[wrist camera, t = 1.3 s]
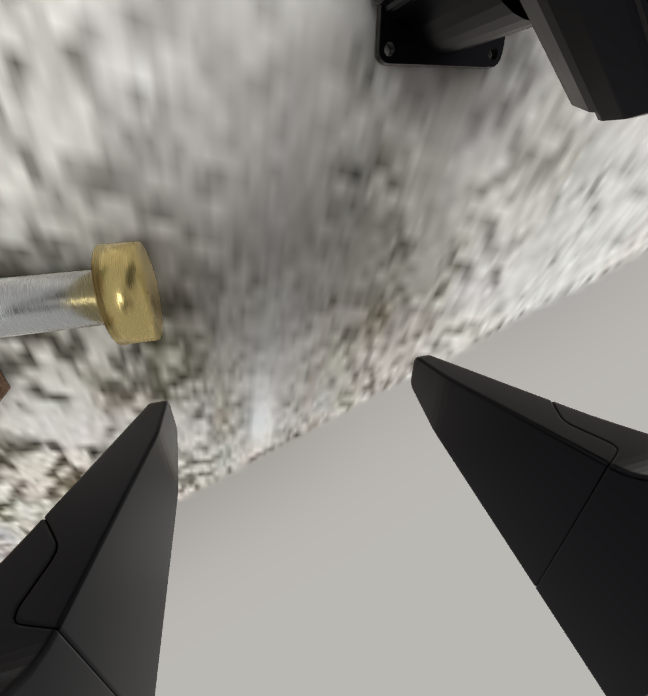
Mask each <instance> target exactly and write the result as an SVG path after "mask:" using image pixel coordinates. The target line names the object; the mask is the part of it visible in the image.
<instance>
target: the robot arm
mask: <svg viewBox="0 0 648 696" xmlns="http://www.w3.org/2000/svg"><path fill="white" fill-rule="evenodd" d="M375 2H376V4H377V5H378V9H377V29H376V50H375V51H376V57H377V60H378V61H379V62H380V63H381V64H383V65H400V66H428V67H456V68H484V69H486V68H490V67H494V66H495V65H496V64H498V62H499V61H500V58H501V55H502V50H503V45H504V40H505V36H506V35H509V34H512V33H515V32H518V31H521V30H524V29H527V28H530V27H533V28H534V30H535V32H536V34H537V36H538V38H539V40H540V42H541V44H542V46H543V48H544V50H545V52H546V54H547V56H548V58H549V60H550V62H551V64H552V66H553V68H554V70H555V72H556V74H557V76H558V78H559V80H560V82H561V84H562V86H563V88H564V90H565V92H566V94H567V96H568V98H569V100H570V102H571V104H572V105H574V106H576V107H578V108H581V109H583V110H586V111H588V112H595V114H596V116H597V118H598V120H601V121H606V120H620V119H628V118H634V117H638V116H642V115H646V114H648V0H375ZM386 44H388V45H389V46H390V49H391V52H390V55H389V57H388V56H386V54H385V53H384V47H385V45H386ZM490 50H491V51H492V57H491V60H489V51H490ZM411 385H412V388H413V391H414V392H415V394H416V396H417V398H418V400H419V402H420V404H421V406H422V408H423V410H424V412H425V414H426V416H427V418H428V420H429V422H430V424H431V426H432V428H433V430H434V431H435V433H436V435H437V436H438V438H439V439H440V441H441V442H442V444H443V446H444V447H445V449H446V450H447V451H448V453H449V455H450V456H451V458H452V459H453V461H454V462H455V464H456V466H457V467H458V468H459V470H460V472H461V473H462V475H463V476H464V478H465V479H466V481H467V482H468V484H469V486H470V487H471V489H472V490H473V492H474V493H475V495H476V496H477V498H478V499H479V501H480V502H481V504H482V506H483V507H484V509H485V510H486V512H487V513H488V515H489V516H490V518H491V519H492V521H493V522H494V524H495V525H496V527H497V528H498V530H499V532H500V533H501V535H502V536H503V538H504V539H505V540H506V542H507V544H508V545H509V547H510V549H511V550H512V552H513V553H514V554H515V556H516V558H517V559H518V561H519V562H520V564H521V565H522V567H523V568H524V570H525V572H526V573H527V575H528V576H529V578H530V579H531V581H532V582H533V584H534V585H535V586H536V589H537V590H538V592H539V594H540V595H541V597H542V598H543V599H544V601H545V603H546V604H547V606H548V607H549V609H550V610H551V612H552V613H553V615H554V617H555V618H556V620H557V621H558V623H559V624H560V626H561V627H562V629H563V630H564V632H565V633H566V635H567V637H568V638H569V639H570V641H571V643H572V644H573V646H574V647H575V649H576V650H577V652H578V653H579V655H580V656H581V658H582V659H583V661H584V663H585V664H586V666H587V667H588V669H589V670H590V672H591V673H592V675H593V676H594V678H595V679H596V681H597V682H598V684H599V686H600V687H601V689H602V690H603V692H604V693H605V695H606V696H648V434H647V433H644V432H640V431H637V430H634V429H631V428H628V427H625V426H622V425H618V424H615V423H612V422H609V421H606V420H603V419H600V418H597V417H594V416H591V415H589V414H586V413H583V412H580V411H577V410H575V409H572V408H569V407H566V406H564V405H561V404H559V403H556V402H551V401H550V400H548V399H545V398H542V397H540V396H537V395H534V394H532V393H529V392H526V391H524V390H521V389H518V388H516V387H513V386H510V385H508V384H505V383H502V382H499V381H497V380H494V379H492V378H489V377H486V376H484V375H481V374H478V373H476V372H473V371H470V370H468V369H465V368H462V367H460V366H457V365H454V364H452V363H449V362H446V361H444V360H441V359H438V358H436V357H433V356H430V355H426V356H420V357H417V358H416V359H415V360H414V364H413V371H412V378H411ZM177 497H178V443H177V428H176V424H175V420H174V417H173V414H172V410H171V407H170V404H169V403H168V402H167V401H161V402H155V403H151V404H149V405H148V406H147V407H146V408H145V409H144V410H143V411H142V412H141V413H140V414H139V415H138V417H137V418H136V419H135V420H134V421H133V422H132V423H131V424H130V425H129V426H128V427H127V428H126V429H125V431H124V432H123V433H122V434H121V435H120V436H119V437H118V438H117V439H116V440H115V441H114V442H113V444H112V445H111V446H110V447H109V448H108V449H107V450H106V451H105V452H104V453H103V454H102V455H101V456H100V458H99V459H98V460H97V461H96V462H95V463H94V464H93V465H92V466H91V467H90V468H89V469H88V470H87V472H86V473H85V474H84V475H83V476H82V477H81V478H80V479H79V480H78V481H77V482H76V483H75V484H74V486H73V487H72V488H71V489H70V490H69V491H68V492H67V493H66V494H65V495H64V496H63V497H62V498H61V500H60V501H59V502H58V503H57V504H56V505H55V506H54V507H53V508H52V509H51V510H50V511H49V512H48V514H47V515H46V516H45V519H43V520H41V521H40V522H39V523H38V524H37V525H36V526H35V527H34V528H33V530H32V531H31V532H30V533H29V534H28V535H27V536H26V537H25V538H24V539H23V540H22V541H21V542H20V543H19V544H18V545H17V546H16V547H15V548H14V550H13V551H12V552H11V553H10V554H9V555H8V556H7V557H6V558H5V559H4V560H3V561H2V562H1V563H0V696H155V688H156V680H157V671H158V663H159V654H160V645H161V637H162V628H163V619H164V610H165V602H166V593H167V584H168V575H169V567H170V558H171V550H172V541H173V532H174V523H175V515H176V506H177Z"/></svg>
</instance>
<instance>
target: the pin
mask: <svg viewBox="0 0 648 696" xmlns="http://www.w3.org/2000/svg"><path fill="white" fill-rule="evenodd" d="M98 325H105V326H106V329H107V330H108V332H109V334H110V335H111V337H112V338H113V340H114V341H115V342H116V343H118V344H119V345H126V344H133V343H140V342H147V341H155V340H159V339H160V338H161V336H162V329H163V319H162V308H161V301H160V295H159V290H158V285H157V281H156V277H155V274H154V270H153V267H152V264H151V261H150V259H149V256H148V254H147V252H146V250H145V248H144V246H143V245H142V244H141V243H140V242H139V241H137V242H124V243H111V244H99V245H97V246H96V247H95V248H94V251H93V254H92V262H91V270H83V271H72V272H62V273H51V274H40V275H29V276H18V277H8V278H0V338H3V337H11V336H19V335H27V334H35V333H43V332H51V331H59V330H67V329H75V328H82V327H90V326H98Z"/></svg>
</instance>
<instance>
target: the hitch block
mask: <svg viewBox="0 0 648 696" xmlns="http://www.w3.org/2000/svg"><path fill="white" fill-rule="evenodd" d="M9 389H10V386H9V385H8V383H7V381H6V380H5V378H4V376H3V375H2V373H1V371H0V401H1V399H2V398H3V397H4V395H5V394H6V393H7V392H8V390H9Z"/></svg>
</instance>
